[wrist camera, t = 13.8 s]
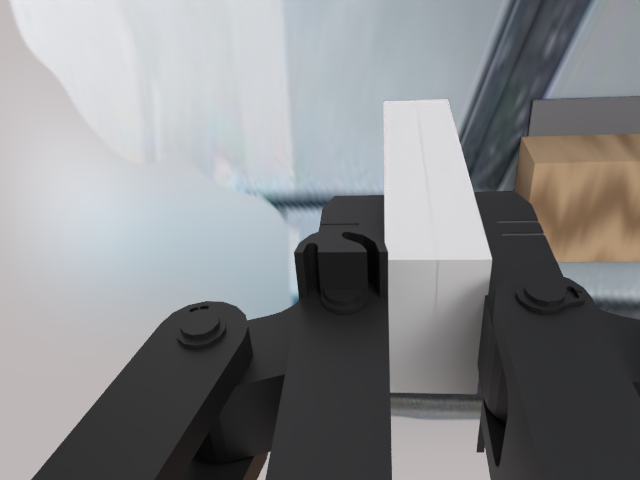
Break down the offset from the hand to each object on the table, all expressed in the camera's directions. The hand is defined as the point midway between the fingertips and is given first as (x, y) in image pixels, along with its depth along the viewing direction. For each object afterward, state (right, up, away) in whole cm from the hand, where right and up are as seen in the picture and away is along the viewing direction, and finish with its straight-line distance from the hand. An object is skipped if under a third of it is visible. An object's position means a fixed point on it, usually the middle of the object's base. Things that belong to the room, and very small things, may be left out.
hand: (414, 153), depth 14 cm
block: (+14, +1, +33) cm, 36 cm away
